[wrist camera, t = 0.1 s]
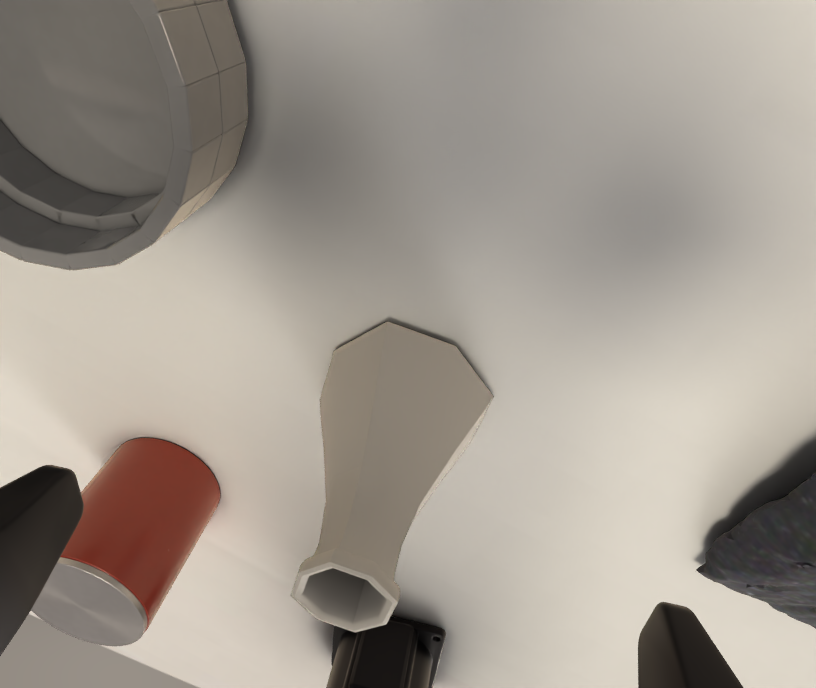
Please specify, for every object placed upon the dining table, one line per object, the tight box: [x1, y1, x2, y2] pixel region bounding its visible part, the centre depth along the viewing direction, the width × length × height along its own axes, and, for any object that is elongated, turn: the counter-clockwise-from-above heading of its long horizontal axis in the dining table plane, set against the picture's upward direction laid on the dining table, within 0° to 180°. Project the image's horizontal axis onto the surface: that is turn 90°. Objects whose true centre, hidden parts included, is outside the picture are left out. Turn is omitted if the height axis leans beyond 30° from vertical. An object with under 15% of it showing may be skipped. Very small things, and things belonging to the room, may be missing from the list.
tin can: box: [31, 438, 220, 646], centre depth 29 cm, size 6×6×8 cm
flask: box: [291, 321, 494, 633], centre depth 22 cm, size 7×7×10 cm
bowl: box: [0, 0, 248, 270], centre depth 19 cm, size 11×11×4 cm
